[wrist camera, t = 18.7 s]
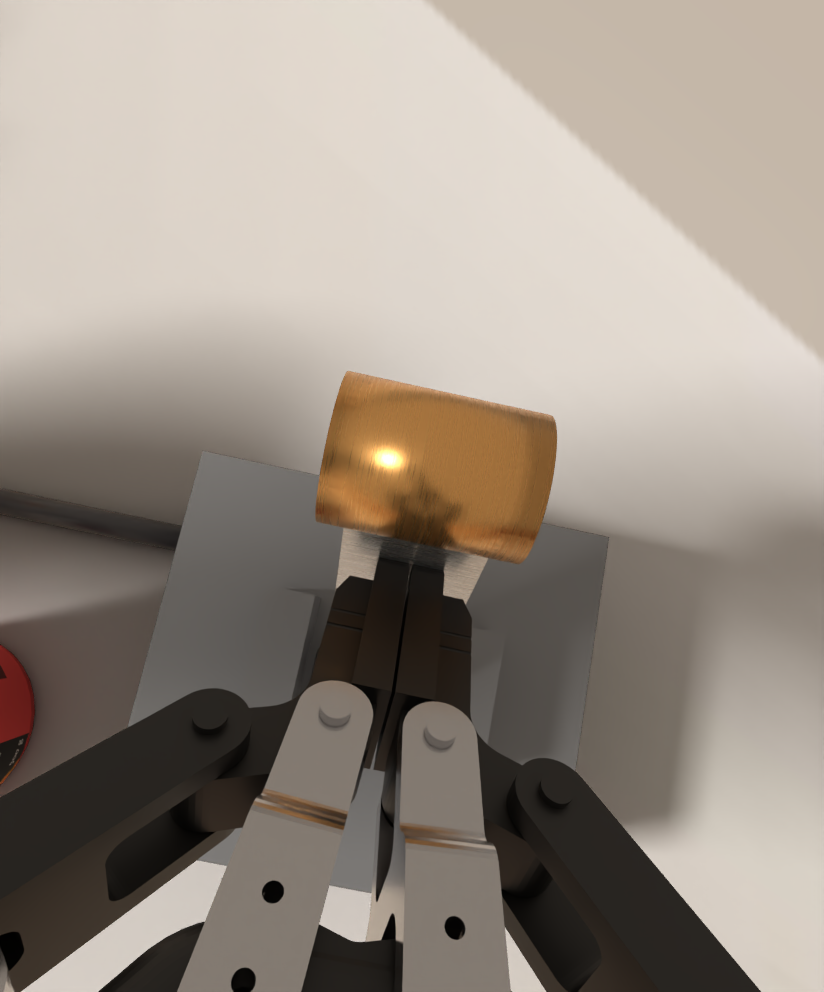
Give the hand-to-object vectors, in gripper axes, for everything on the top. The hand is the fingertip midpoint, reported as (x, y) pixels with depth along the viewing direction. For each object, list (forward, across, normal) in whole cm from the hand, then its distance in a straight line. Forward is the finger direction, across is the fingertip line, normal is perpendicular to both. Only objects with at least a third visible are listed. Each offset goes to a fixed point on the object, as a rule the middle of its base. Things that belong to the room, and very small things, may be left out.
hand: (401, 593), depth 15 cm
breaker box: (+11, +6, +15) cm, 19 cm away
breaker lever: (+4, 0, +8) cm, 9 cm away
